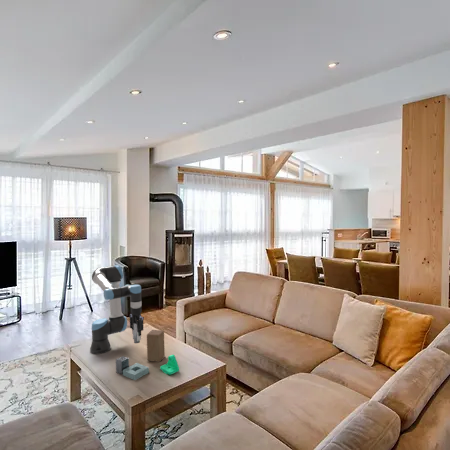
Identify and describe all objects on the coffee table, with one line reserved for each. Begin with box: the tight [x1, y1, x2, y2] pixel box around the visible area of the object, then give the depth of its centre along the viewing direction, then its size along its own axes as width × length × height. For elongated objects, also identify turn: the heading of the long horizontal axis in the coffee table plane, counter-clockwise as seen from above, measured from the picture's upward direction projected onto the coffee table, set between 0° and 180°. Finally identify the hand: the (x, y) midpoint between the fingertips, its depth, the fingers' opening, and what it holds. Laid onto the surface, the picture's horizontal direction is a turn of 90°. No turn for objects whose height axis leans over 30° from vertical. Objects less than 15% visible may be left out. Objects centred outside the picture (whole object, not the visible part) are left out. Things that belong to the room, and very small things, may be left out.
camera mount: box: [159, 354, 180, 375], centre depth 220 cm, size 12×8×10 cm, turn 45°
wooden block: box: [146, 329, 166, 363], centre depth 239 cm, size 10×10×20 cm
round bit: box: [133, 322, 141, 344], centre depth 230 cm, size 4×4×14 cm
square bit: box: [115, 355, 130, 376], centre depth 220 cm, size 6×6×9 cm
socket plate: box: [122, 362, 150, 381], centre depth 217 cm, size 12×12×4 cm
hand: (136, 339), depth 231 cm, fingers closed on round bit, 4 cm apart
